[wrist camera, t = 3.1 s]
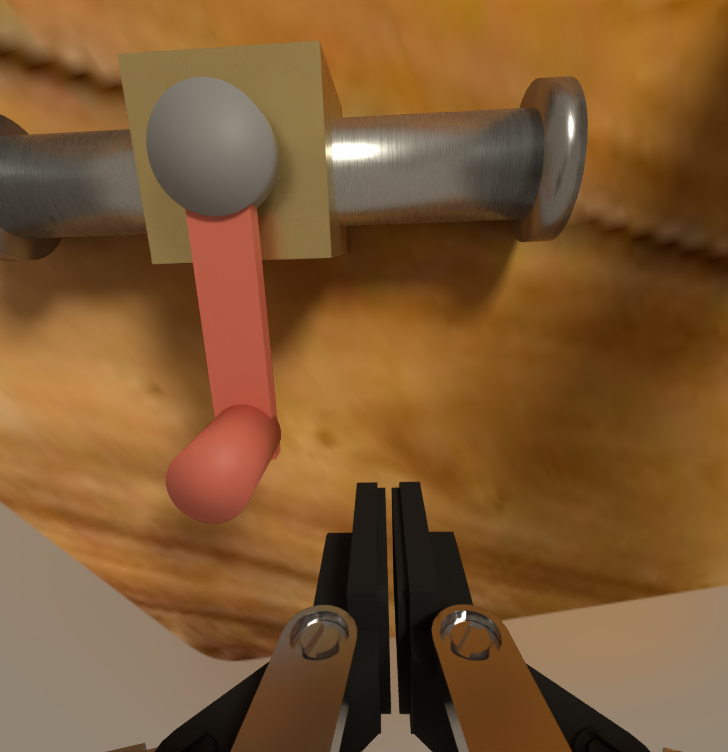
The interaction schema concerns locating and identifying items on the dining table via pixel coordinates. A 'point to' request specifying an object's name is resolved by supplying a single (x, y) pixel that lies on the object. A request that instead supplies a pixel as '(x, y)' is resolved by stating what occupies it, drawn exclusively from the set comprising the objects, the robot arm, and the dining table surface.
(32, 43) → the dining table surface
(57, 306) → the dining table surface
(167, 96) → the lever
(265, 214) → the valve body
